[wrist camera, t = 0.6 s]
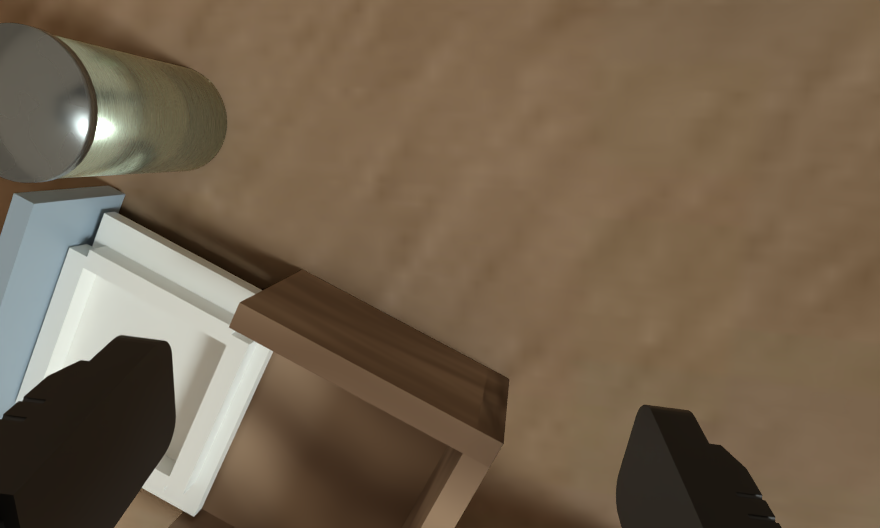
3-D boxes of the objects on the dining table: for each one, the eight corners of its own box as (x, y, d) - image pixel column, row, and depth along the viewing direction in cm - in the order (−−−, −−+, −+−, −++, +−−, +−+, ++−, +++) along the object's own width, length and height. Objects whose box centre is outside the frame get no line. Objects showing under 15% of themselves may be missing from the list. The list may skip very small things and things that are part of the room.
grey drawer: (89, 174, 32) (-11, 180, 26) (306, 290, 31) (254, 322, 25) (11, 399, 35) (-93, 449, 29) (206, 507, 34) (140, 580, 29)
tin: (150, 45, 30) (-29, -5, 21) (244, 93, 30) (108, 66, 20) (116, 143, 32) (-69, 140, 22) (206, 191, 31) (60, 209, 22)
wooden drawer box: (302, 269, 31) (239, 302, 24) (509, 379, 31) (503, 443, 24) (193, 509, 35) (112, 596, 28) (377, 611, 34) (339, 724, 28)
